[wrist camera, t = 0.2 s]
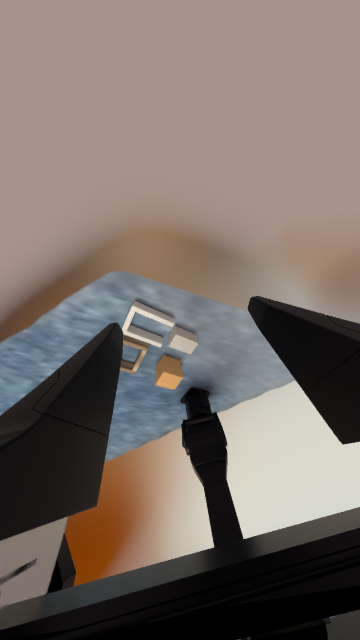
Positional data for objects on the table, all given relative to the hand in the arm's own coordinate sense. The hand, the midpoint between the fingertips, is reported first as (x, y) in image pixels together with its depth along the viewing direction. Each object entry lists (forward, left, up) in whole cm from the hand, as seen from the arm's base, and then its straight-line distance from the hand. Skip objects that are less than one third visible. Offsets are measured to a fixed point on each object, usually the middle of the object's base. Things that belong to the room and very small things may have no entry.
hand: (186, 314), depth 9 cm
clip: (-9, 0, -15) cm, 18 cm away
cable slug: (-9, -7, -15) cm, 19 cm away
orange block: (-18, -8, -15) cm, 25 cm away
